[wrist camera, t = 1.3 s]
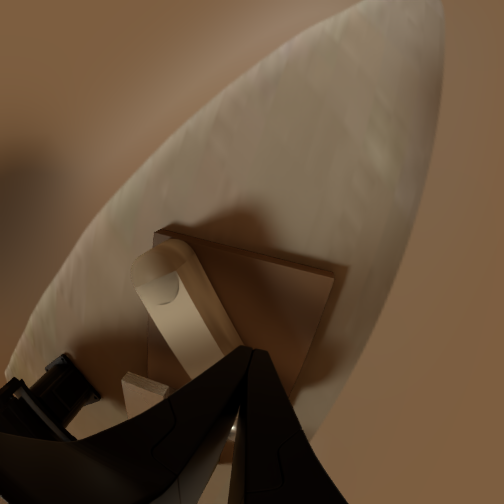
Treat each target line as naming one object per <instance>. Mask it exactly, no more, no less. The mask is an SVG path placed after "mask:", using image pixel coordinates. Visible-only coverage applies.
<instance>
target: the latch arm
mask: <svg viewBox="0 0 504 504" xmlns="http://www.w3.org/2000/svg"><path fill="white" fill-rule="evenodd" d="M131 279H132V283H133V285H134V288H135V289H136V291H137V293H138V295H139V297H140V298H141V300H142V302H143V304H144V305H145V307H146V309H147V311H148V312H149V314H150V316H151V317H152V319H153V321H154V322H155V324H156V326H157V327H158V329H159V331H160V332H161V334H162V335H163V337H164V339H165V340H166V342H167V343H168V345H169V347H170V348H171V350H172V351H173V353H174V354H175V356H176V357H177V359H178V360H179V362H180V363H181V365H182V366H183V368H184V369H185V371H186V372H187V374H188V375H189V376H190V378H191V379H192V380H193V379H194V378H195V377H197V376H198V375H200V374H201V373H202V372H204V371H205V370H207V369H208V368H209V367H211V366H212V365H214V364H215V363H216V362H218V361H219V360H220V359H222V358H223V357H224V356H226V355H227V354H228V353H230V352H231V351H233V350H234V349H235V348H236V347H238V346H239V345H244V344H243V342H242V340H241V339H240V337H239V335H238V333H237V331H236V330H235V328H234V326H233V324H232V322H231V320H230V319H229V317H228V315H227V313H226V311H225V309H224V308H223V306H222V304H221V302H220V300H219V298H218V296H217V294H216V292H215V291H214V289H213V287H212V285H211V283H210V281H209V279H208V277H207V275H206V273H205V271H204V269H203V267H202V265H201V264H200V262H199V260H198V258H197V256H196V254H195V252H194V250H193V249H192V248H191V247H190V246H189V245H188V244H187V243H186V242H184V241H182V240H179V239H168V240H165V241H163V242H162V243H160V244H159V245H157V246H155V247H154V248H152V249H150V250H149V251H147V252H145V253H144V254H142V255H141V256H139V257H138V258H137V259H136V260H135V261H134V263H133V265H132V268H131Z"/></svg>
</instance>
